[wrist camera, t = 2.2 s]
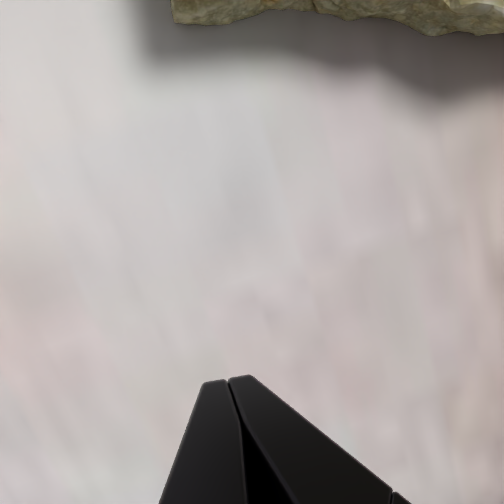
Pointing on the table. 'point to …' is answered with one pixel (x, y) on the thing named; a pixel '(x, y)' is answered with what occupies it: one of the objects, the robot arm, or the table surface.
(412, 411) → the table surface
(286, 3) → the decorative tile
